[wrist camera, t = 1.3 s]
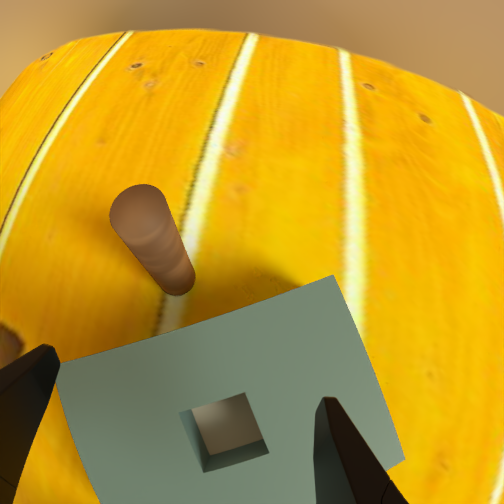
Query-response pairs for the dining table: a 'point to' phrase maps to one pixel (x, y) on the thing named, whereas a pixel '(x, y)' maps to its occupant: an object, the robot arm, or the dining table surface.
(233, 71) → the dining table surface
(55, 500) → the dining table surface
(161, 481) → the board
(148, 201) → the pin
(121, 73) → the dining table surface
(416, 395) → the dining table surface
